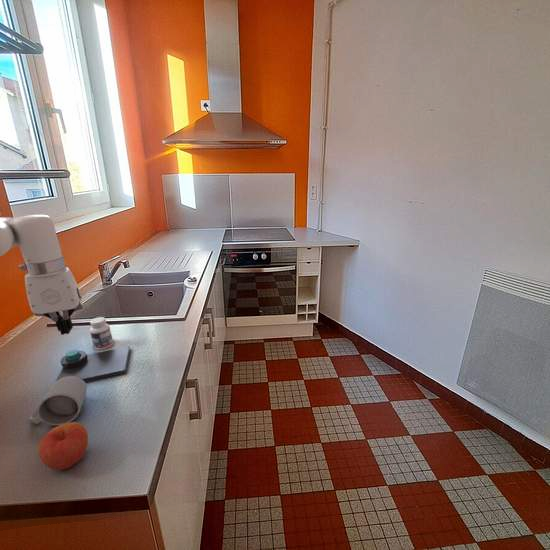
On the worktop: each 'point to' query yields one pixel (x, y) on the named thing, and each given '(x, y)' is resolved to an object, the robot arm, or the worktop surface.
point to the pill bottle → (100, 333)
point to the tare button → (72, 355)
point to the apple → (63, 445)
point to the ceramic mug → (61, 402)
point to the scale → (96, 365)
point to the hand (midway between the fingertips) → (66, 331)
